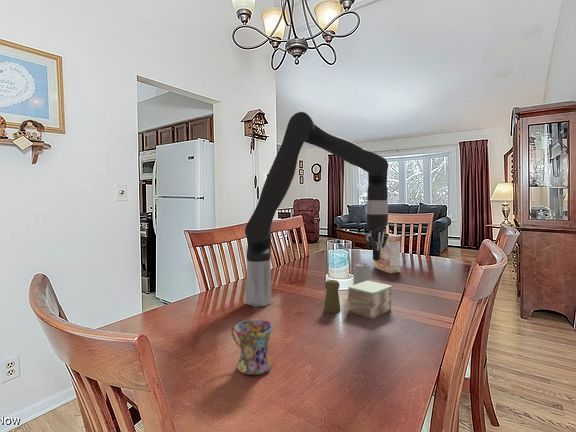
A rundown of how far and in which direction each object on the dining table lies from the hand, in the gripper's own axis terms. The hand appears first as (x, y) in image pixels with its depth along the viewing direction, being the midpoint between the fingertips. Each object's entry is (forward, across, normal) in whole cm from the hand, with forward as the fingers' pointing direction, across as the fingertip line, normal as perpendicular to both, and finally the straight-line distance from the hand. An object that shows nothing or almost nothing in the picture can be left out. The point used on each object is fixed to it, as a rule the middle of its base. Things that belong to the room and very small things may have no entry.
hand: (376, 260), depth 122 cm
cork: (+18, +13, -10) cm, 25 cm away
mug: (+18, +58, +1) cm, 61 cm away
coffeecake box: (+18, -56, -29) cm, 66 cm away
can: (+18, -13, -15) cm, 27 cm away
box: (+18, +4, 0) cm, 18 cm away
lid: (+10, +4, 0) cm, 10 cm away
